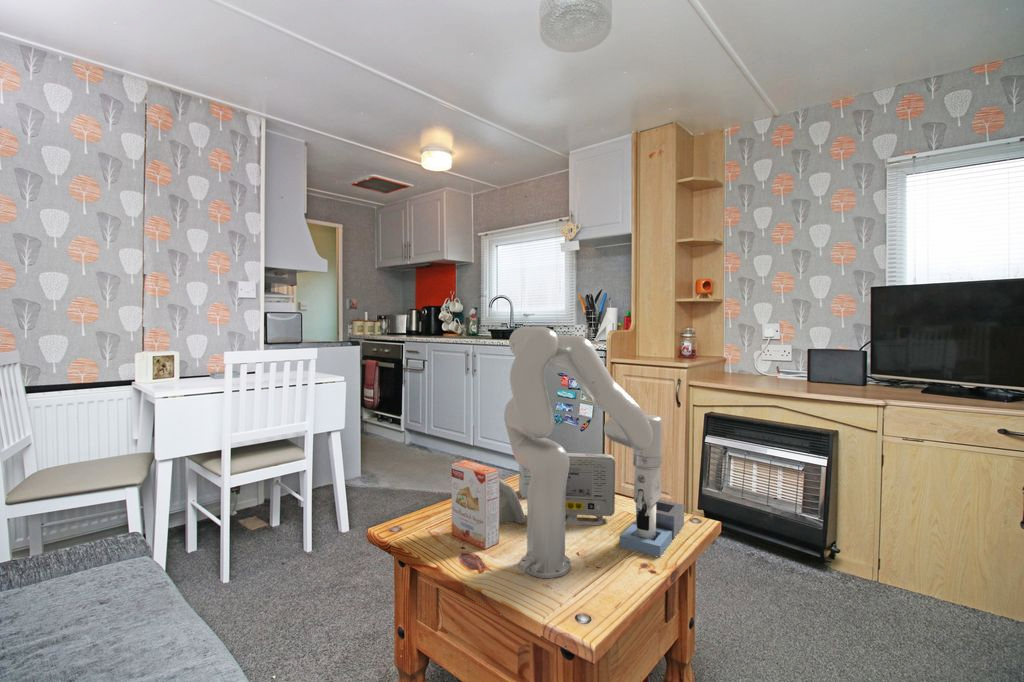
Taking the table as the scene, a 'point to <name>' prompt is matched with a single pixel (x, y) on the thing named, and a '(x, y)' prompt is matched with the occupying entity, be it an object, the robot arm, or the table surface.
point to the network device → (590, 487)
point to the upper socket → (669, 516)
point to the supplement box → (524, 481)
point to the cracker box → (475, 503)
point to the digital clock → (509, 505)
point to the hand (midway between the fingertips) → (646, 525)
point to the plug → (652, 525)
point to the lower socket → (646, 541)
